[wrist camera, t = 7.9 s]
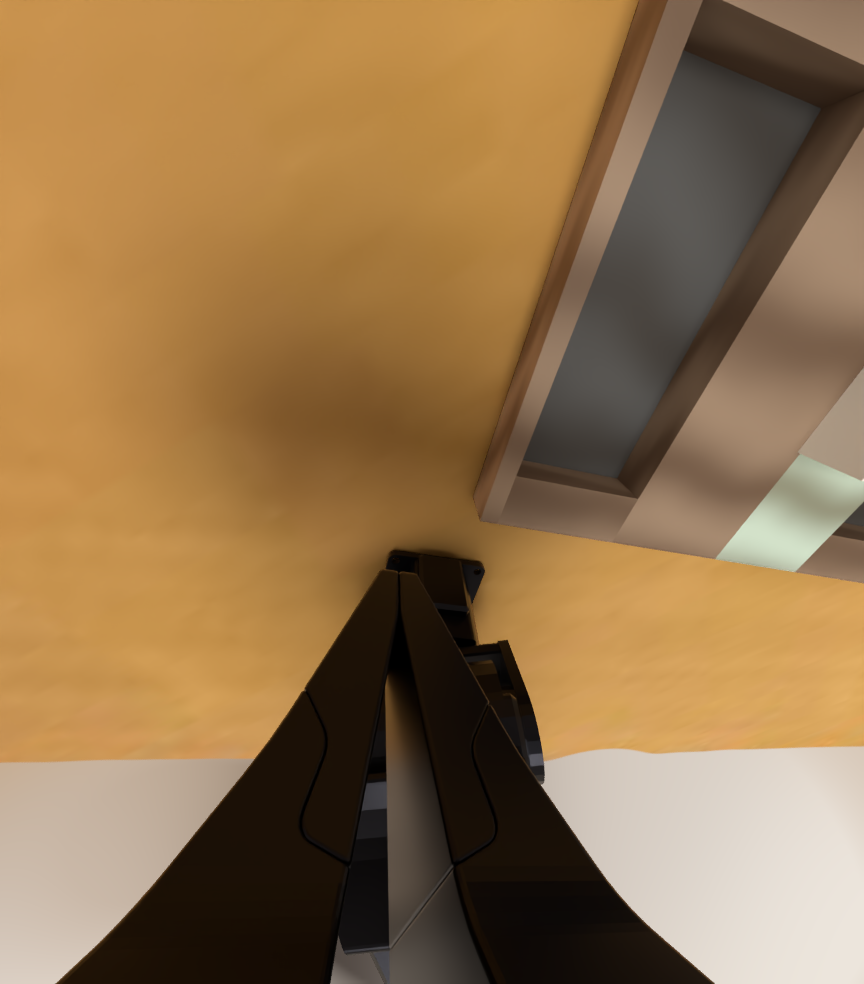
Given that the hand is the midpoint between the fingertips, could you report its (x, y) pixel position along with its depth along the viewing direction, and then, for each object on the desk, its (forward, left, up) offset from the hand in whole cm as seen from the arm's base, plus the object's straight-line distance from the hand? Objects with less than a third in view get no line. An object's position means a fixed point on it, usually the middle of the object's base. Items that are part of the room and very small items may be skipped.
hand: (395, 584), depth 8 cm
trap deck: (+7, -20, -12) cm, 24 cm away
